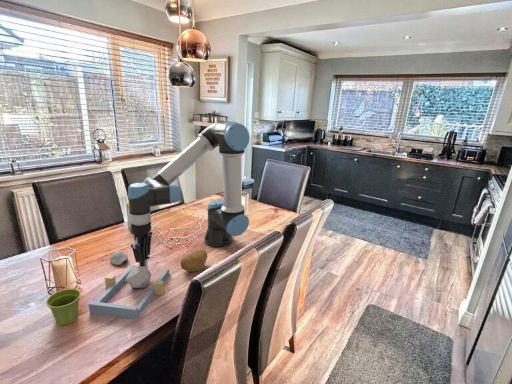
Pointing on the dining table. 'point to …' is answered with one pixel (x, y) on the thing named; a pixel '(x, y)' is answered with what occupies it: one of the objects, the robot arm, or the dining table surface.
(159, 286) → the beam track
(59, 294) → the plant pot
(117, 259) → the grey stone
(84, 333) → the dining table surface
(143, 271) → the faceted grey rock
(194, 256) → the potato
